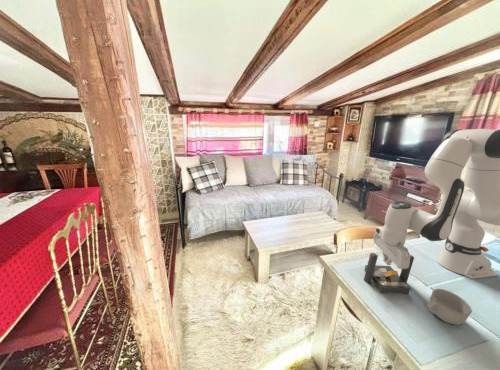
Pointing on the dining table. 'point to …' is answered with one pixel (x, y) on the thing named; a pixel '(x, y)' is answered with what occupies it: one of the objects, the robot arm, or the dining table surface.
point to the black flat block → (389, 282)
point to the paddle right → (380, 272)
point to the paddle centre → (391, 274)
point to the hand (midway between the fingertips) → (386, 263)
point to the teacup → (449, 306)
